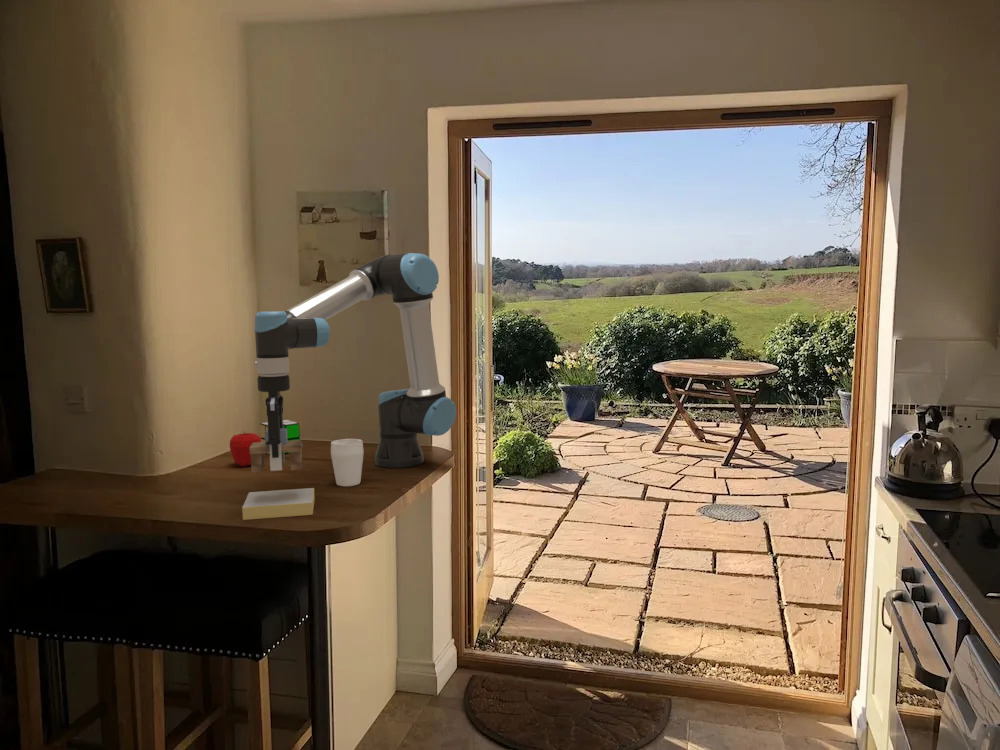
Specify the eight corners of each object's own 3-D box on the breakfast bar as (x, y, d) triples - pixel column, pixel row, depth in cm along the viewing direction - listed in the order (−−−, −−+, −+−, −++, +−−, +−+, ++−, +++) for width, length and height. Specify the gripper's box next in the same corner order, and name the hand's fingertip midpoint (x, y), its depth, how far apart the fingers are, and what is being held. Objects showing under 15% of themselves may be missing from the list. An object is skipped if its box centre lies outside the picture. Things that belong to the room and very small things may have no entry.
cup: (371, 481, 212) (369, 440, 210) (349, 489, 204) (348, 446, 203) (347, 478, 216) (345, 437, 215) (325, 485, 209) (323, 443, 207)
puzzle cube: (288, 447, 261) (287, 419, 260) (301, 452, 254) (299, 423, 252) (260, 451, 255) (259, 423, 254) (272, 456, 247) (271, 426, 246)
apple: (253, 469, 229) (251, 434, 228) (224, 468, 231) (222, 434, 230) (268, 461, 239) (266, 428, 238) (240, 461, 241) (238, 428, 239)
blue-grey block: (287, 441, 187) (286, 428, 187) (286, 444, 183) (285, 430, 183) (266, 442, 186) (266, 429, 185) (265, 445, 182) (264, 431, 182)
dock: (314, 499, 195) (314, 487, 194) (312, 514, 181) (312, 502, 181) (249, 503, 191) (249, 492, 191) (242, 519, 178) (242, 507, 177)
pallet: (303, 463, 190) (302, 440, 189) (301, 469, 183) (300, 445, 182) (253, 466, 187) (252, 442, 187) (250, 472, 180) (249, 447, 180)
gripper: (261, 371, 191) (265, 459, 194) (252, 379, 172) (257, 477, 175) (291, 370, 193) (295, 457, 195) (286, 378, 174) (290, 475, 176)
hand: (277, 466), depth 185 cm, fingers closed on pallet, 7 cm apart
